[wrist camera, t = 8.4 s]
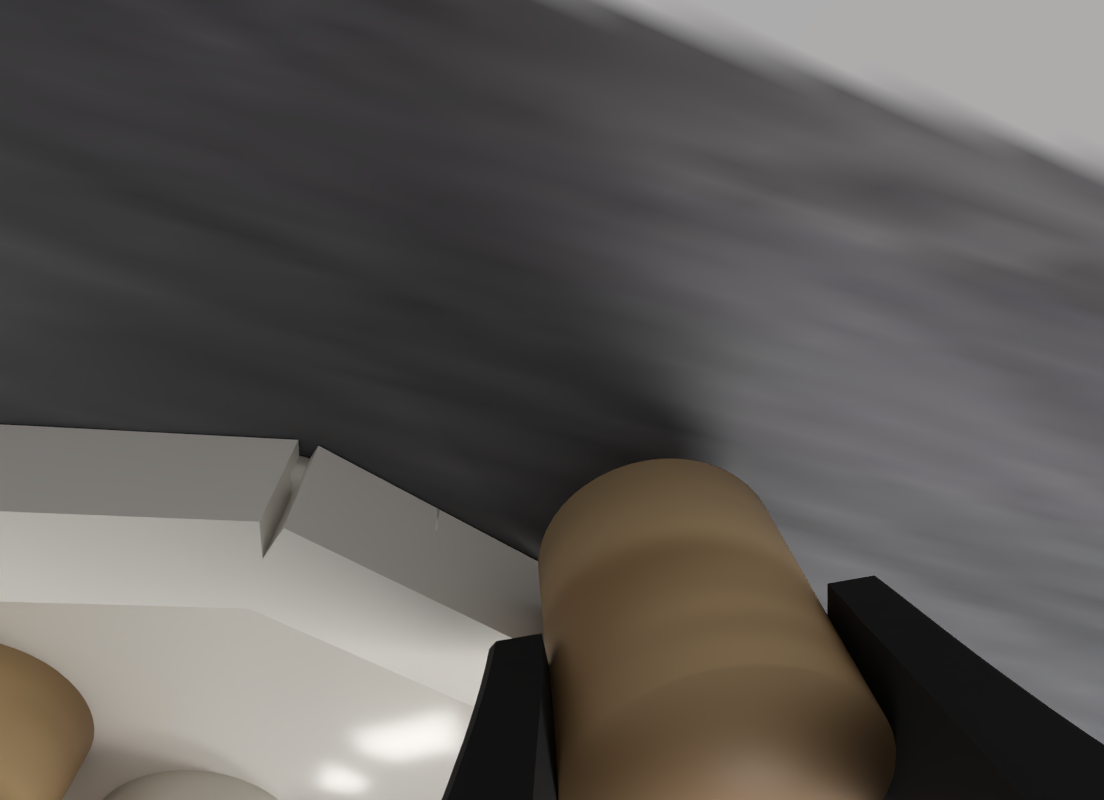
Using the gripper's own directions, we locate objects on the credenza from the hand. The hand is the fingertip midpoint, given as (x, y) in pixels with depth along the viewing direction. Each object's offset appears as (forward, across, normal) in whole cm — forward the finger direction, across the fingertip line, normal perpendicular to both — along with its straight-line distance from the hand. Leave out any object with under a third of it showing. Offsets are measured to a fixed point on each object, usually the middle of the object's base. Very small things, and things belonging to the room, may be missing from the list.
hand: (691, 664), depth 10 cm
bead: (+2, 0, 0) cm, 2 cm away
